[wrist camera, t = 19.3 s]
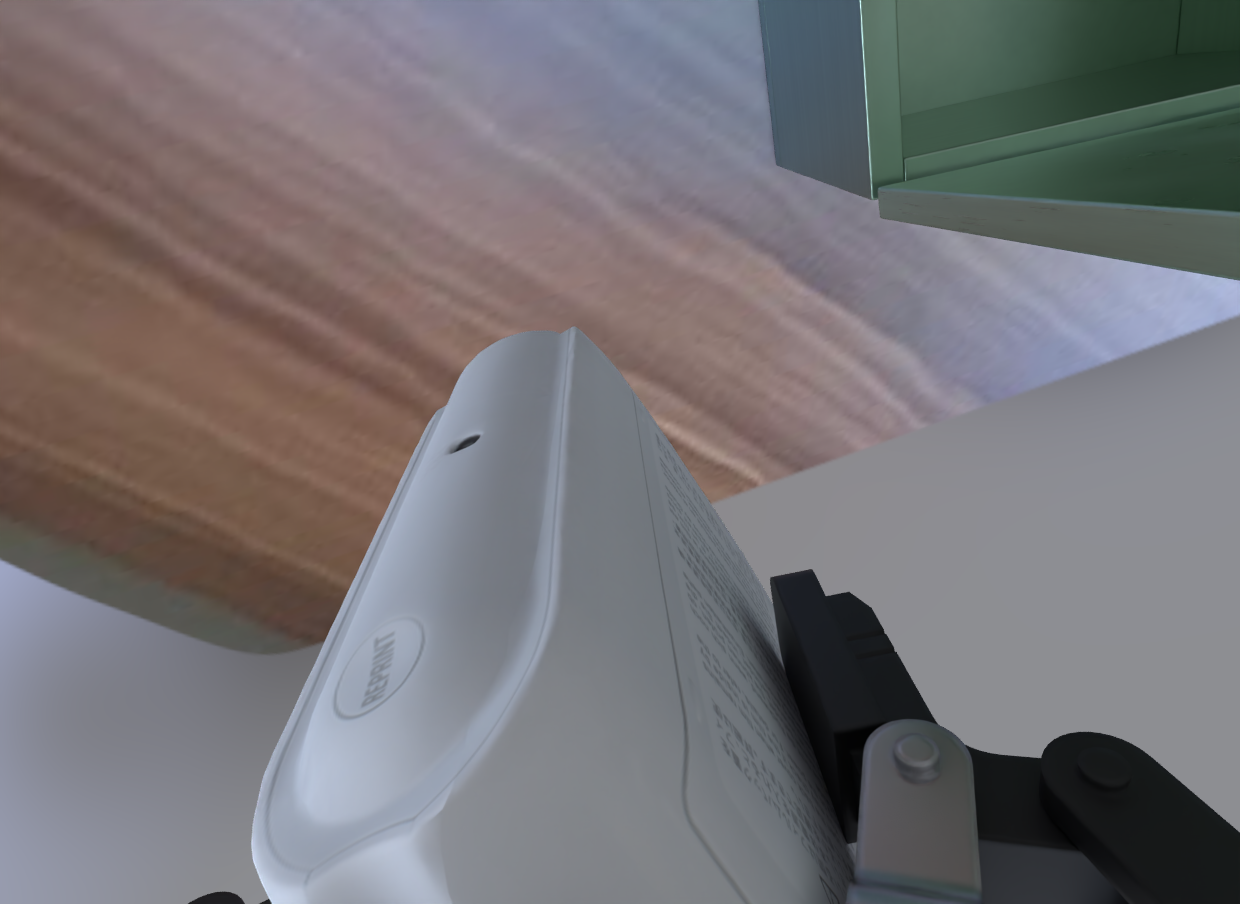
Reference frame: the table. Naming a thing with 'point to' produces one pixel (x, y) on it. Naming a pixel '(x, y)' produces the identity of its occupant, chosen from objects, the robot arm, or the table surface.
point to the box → (982, 79)
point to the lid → (1101, 197)
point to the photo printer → (549, 677)
